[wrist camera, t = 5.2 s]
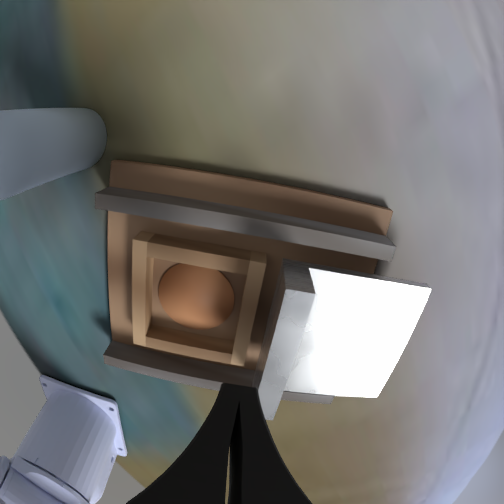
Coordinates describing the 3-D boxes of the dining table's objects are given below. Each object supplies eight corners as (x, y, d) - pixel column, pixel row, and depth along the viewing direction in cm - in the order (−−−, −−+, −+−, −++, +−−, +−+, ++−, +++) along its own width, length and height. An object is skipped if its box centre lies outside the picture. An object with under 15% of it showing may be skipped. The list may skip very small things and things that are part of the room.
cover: (374, 390, 18) (385, 425, 16) (252, 379, 18) (250, 417, 15) (426, 283, 15) (451, 313, 13) (282, 258, 15) (285, 288, 12)
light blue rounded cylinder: (104, 172, 16) (24, 204, 10) (55, 167, 16) (-28, 196, 10) (110, 108, 15) (27, 108, 8) (59, 107, 15) (-27, 113, 8)
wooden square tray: (320, 394, 22) (324, 416, 20) (117, 358, 21) (106, 377, 19) (389, 208, 16) (404, 220, 14) (115, 159, 16) (96, 165, 14)
